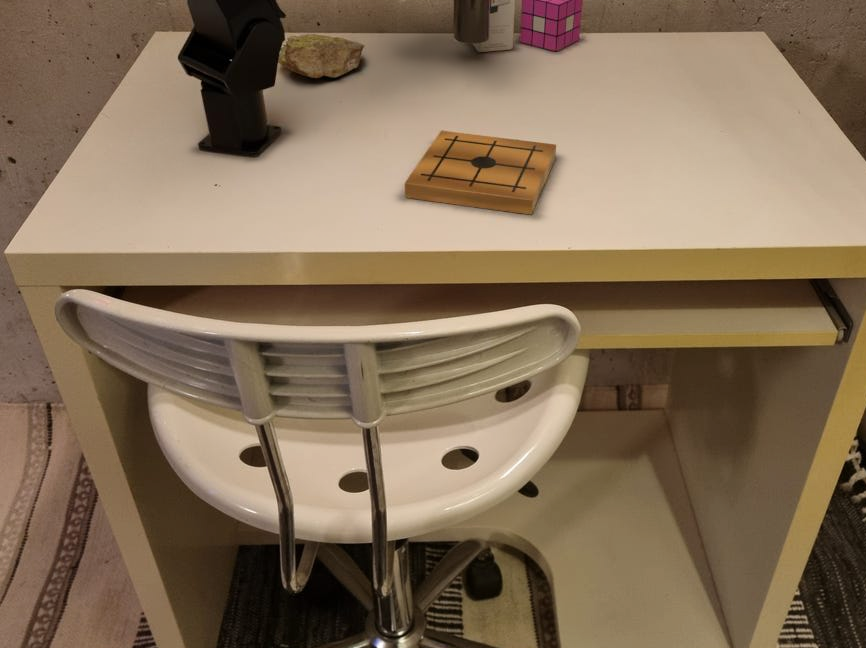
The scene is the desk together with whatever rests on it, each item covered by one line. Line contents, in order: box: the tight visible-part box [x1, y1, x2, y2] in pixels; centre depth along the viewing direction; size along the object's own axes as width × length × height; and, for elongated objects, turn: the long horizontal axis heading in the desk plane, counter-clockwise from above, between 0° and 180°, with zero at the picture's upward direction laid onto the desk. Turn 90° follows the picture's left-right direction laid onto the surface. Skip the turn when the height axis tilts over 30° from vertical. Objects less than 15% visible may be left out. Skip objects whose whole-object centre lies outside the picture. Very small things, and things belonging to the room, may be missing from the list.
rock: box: [278, 33, 365, 79], centre depth 102 cm, size 13×10×4 cm
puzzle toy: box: [519, 0, 584, 53], centre depth 109 cm, size 6×6×6 cm
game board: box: [404, 130, 557, 215], centre depth 81 cm, size 12×12×2 cm
